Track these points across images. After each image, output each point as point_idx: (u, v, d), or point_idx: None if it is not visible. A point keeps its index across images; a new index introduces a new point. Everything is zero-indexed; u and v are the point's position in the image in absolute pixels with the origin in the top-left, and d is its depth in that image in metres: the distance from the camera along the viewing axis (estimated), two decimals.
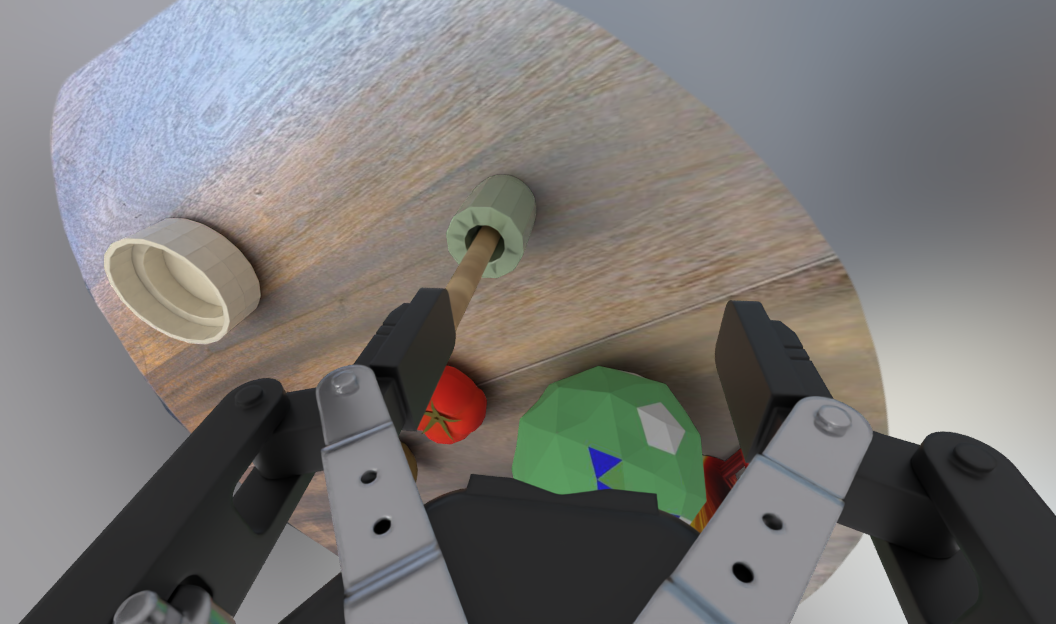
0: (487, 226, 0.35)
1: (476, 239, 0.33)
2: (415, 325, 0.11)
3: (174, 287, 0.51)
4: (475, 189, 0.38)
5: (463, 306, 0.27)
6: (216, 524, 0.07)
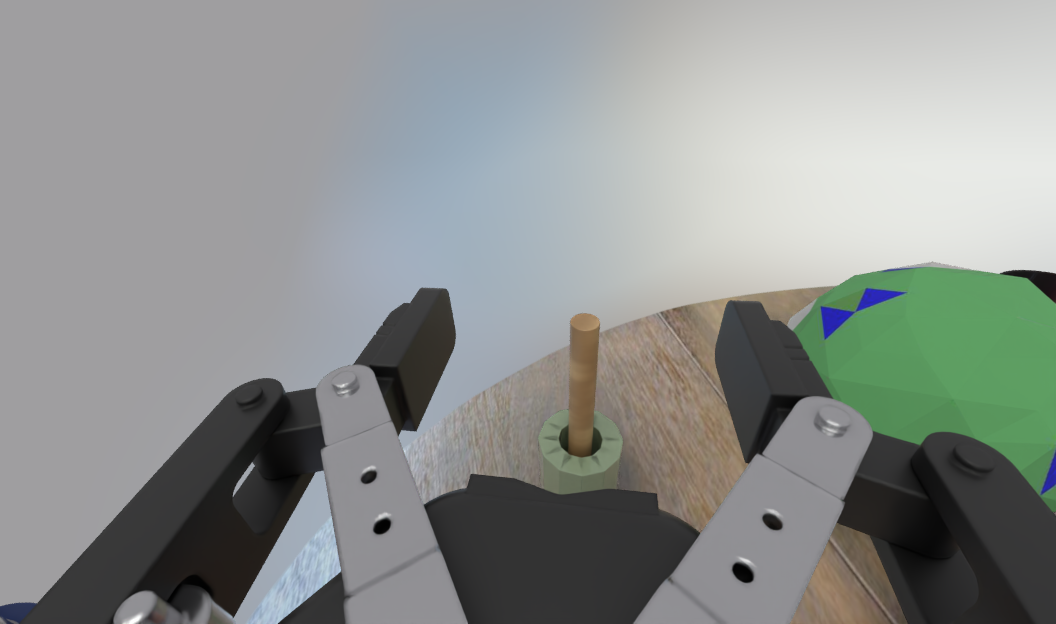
0: (568, 447, 0.34)
1: None
2: (415, 325, 0.11)
3: None
4: None
5: None
6: (216, 524, 0.07)
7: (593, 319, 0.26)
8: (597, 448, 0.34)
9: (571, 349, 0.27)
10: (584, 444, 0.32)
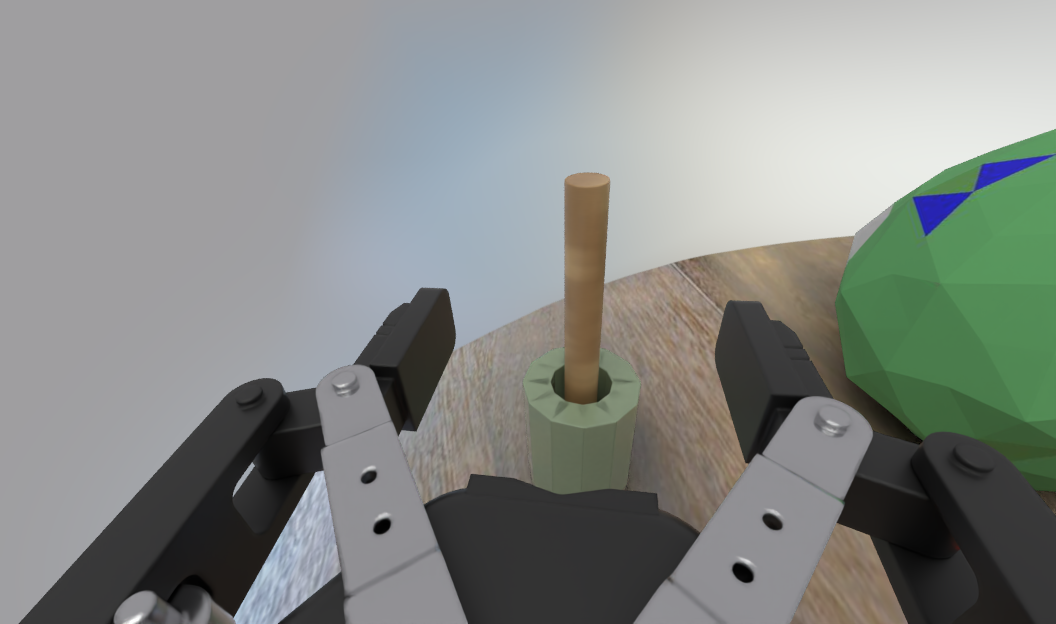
0: None
1: None
2: (415, 325, 0.11)
3: None
4: (531, 466, 0.26)
5: None
6: (216, 524, 0.07)
7: (599, 176, 0.17)
8: None
9: (566, 228, 0.18)
10: (586, 386, 0.22)
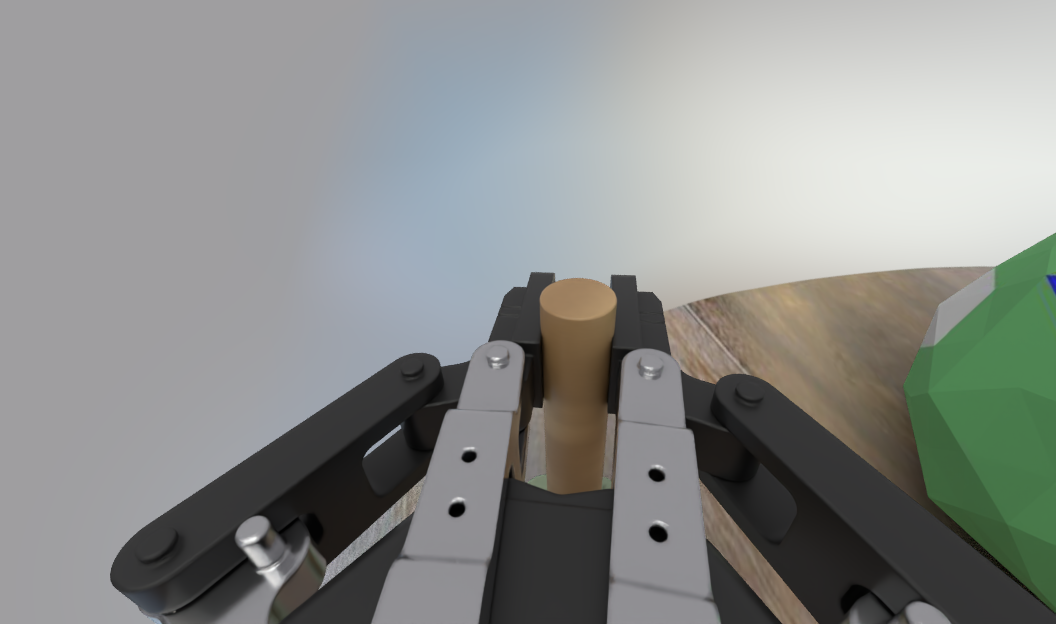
0: None
1: None
2: None
3: None
4: None
5: None
6: (342, 477, 0.08)
7: (598, 290, 0.10)
8: None
9: (545, 368, 0.11)
10: None
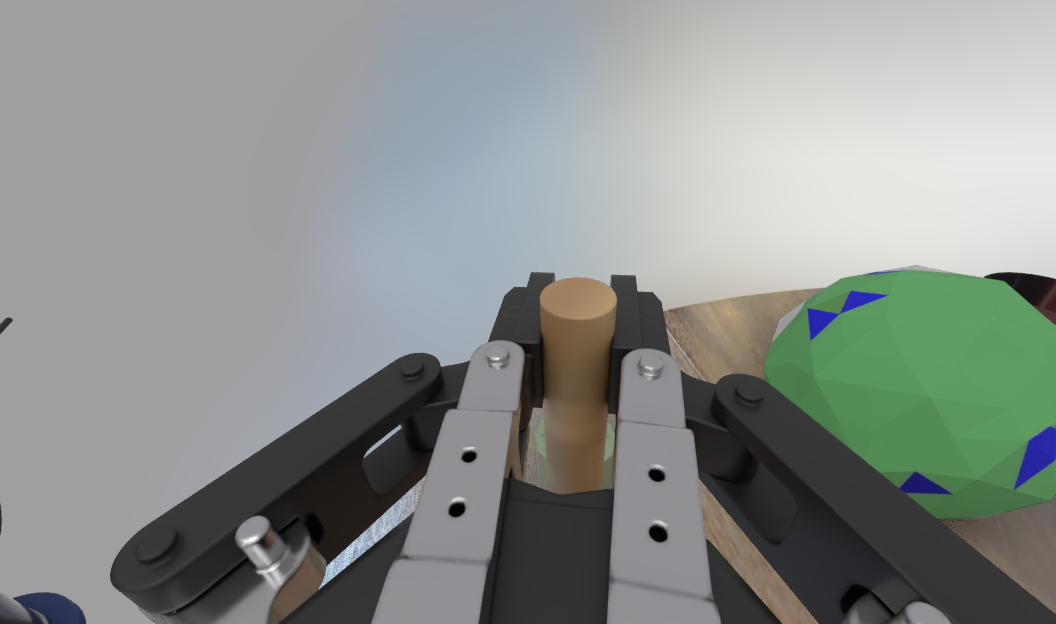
0: None
1: None
2: None
3: None
4: None
5: None
6: (342, 477, 0.08)
7: (599, 290, 0.10)
8: None
9: (545, 368, 0.11)
10: None
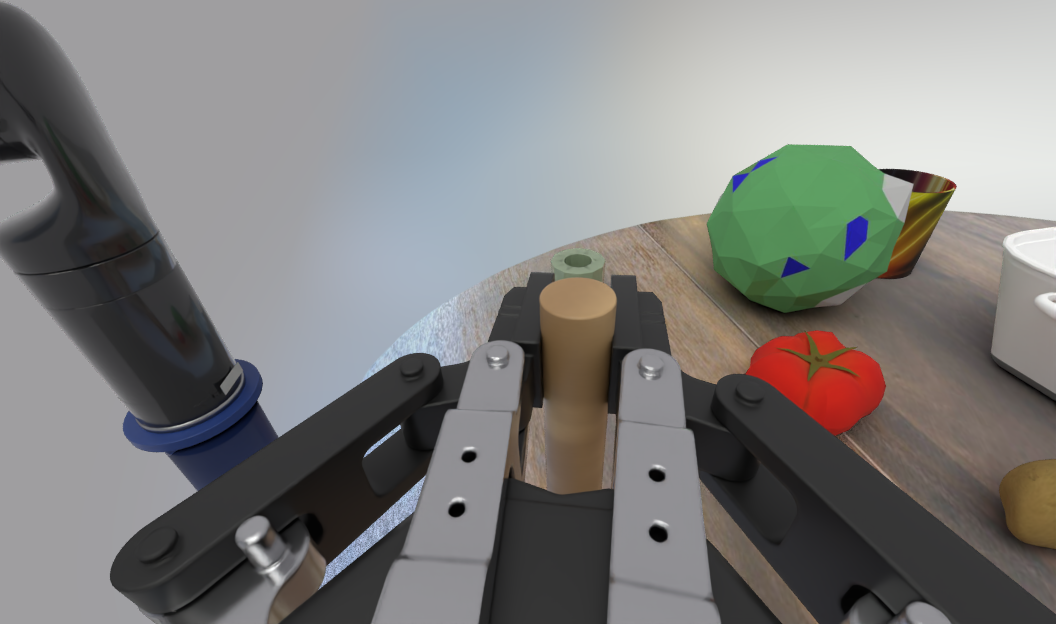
0: None
1: None
2: None
3: None
4: None
5: None
6: (342, 477, 0.08)
7: (599, 290, 0.10)
8: None
9: (544, 368, 0.11)
10: None
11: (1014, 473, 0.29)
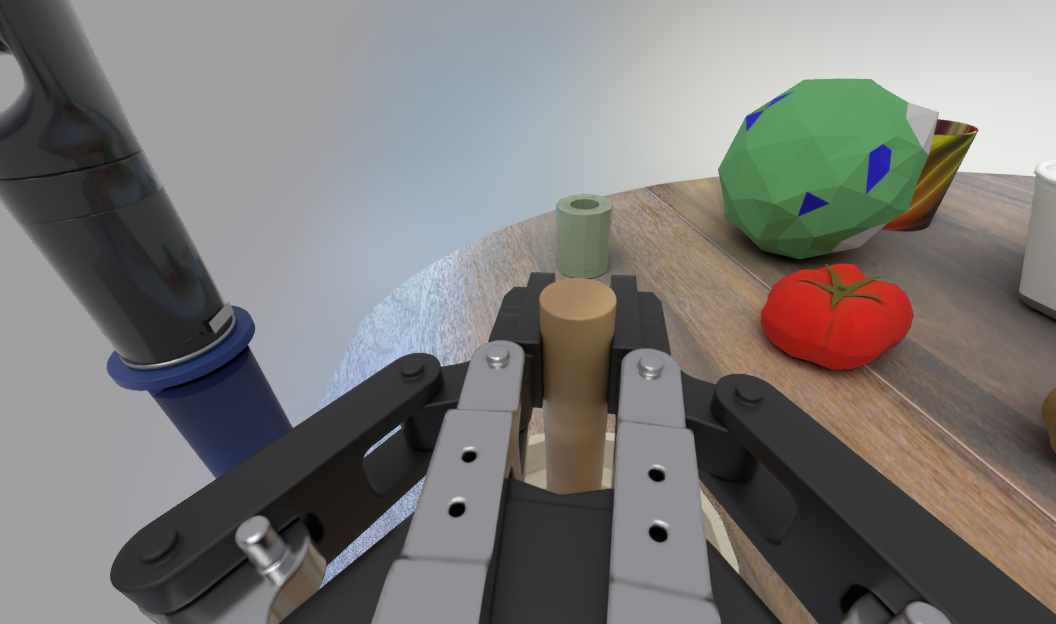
0: None
1: None
2: None
3: None
4: (559, 255, 0.51)
5: None
6: (342, 477, 0.08)
7: (599, 290, 0.10)
8: None
9: (544, 368, 0.11)
10: None
11: None
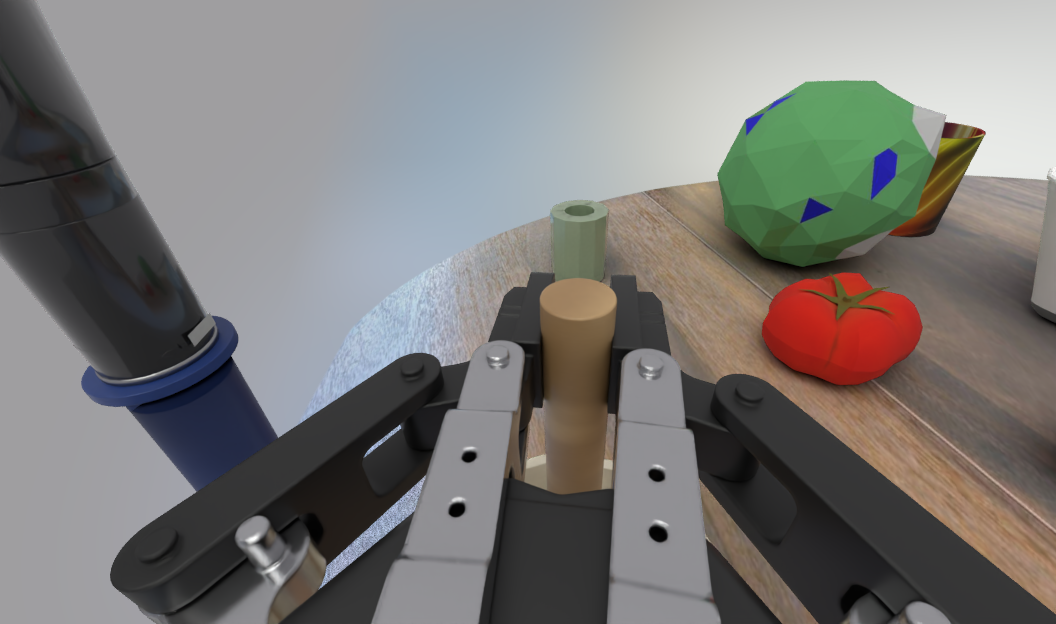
0: None
1: None
2: None
3: None
4: (553, 263, 0.50)
5: None
6: (342, 477, 0.08)
7: (599, 290, 0.10)
8: None
9: (545, 368, 0.11)
10: None
11: None
